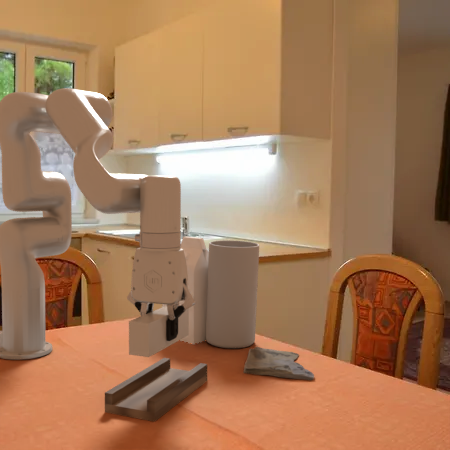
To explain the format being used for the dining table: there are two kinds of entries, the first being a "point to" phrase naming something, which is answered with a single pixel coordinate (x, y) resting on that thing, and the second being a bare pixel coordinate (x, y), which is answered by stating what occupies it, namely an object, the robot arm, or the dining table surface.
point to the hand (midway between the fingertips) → (160, 336)
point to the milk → (196, 287)
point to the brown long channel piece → (154, 390)
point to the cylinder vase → (232, 293)
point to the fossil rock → (275, 364)
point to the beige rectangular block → (154, 332)
